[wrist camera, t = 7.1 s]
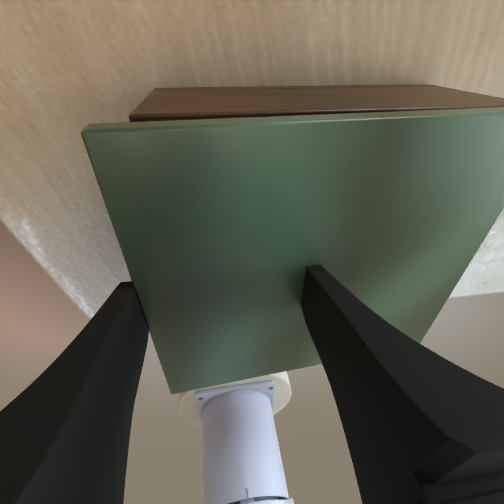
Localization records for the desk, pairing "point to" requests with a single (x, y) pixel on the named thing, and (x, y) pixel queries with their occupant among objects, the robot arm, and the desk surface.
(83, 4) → the desk surface
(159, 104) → the sweet box
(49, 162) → the desk surface
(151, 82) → the desk surface
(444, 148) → the lid
